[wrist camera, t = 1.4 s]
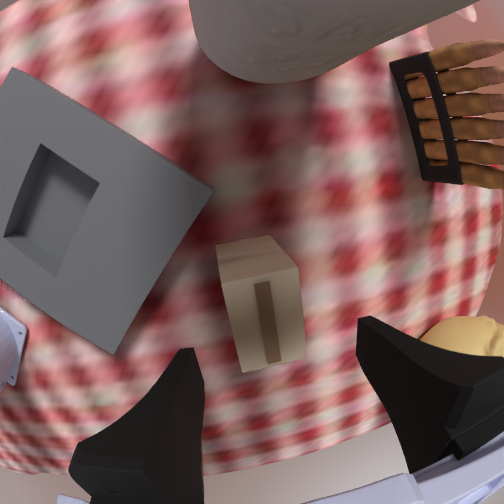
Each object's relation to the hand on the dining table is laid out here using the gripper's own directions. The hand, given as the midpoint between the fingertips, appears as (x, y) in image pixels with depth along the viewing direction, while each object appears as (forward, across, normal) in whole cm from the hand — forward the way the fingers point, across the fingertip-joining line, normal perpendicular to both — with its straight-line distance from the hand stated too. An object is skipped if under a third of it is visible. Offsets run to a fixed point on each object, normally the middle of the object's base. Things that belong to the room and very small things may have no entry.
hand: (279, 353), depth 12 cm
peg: (+11, +1, +1) cm, 11 cm away
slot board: (+10, +14, -7) cm, 18 cm away
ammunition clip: (+12, -15, -10) cm, 22 cm away
